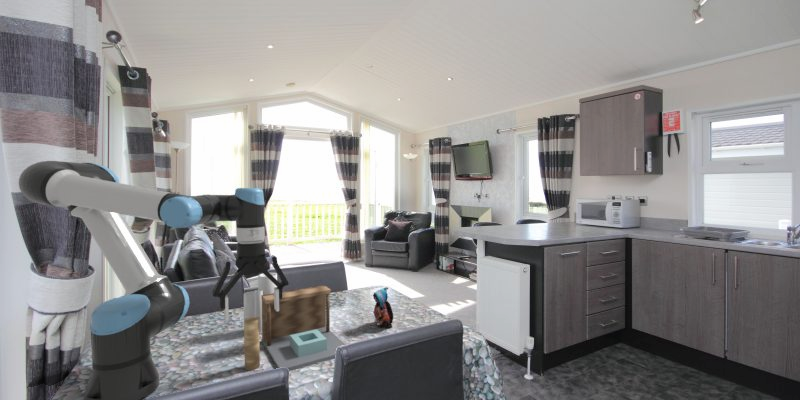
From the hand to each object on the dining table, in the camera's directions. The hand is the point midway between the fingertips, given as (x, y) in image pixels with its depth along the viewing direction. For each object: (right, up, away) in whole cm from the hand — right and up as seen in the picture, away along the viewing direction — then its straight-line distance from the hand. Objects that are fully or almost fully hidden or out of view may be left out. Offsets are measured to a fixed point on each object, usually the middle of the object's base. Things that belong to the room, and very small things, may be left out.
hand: (252, 314), depth 103 cm
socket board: (+12, -15, +13) cm, 23 cm away
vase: (-8, -15, +27) cm, 31 cm away
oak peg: (0, -15, +1) cm, 15 cm away
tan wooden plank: (+7, -15, +20) cm, 26 cm away
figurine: (+36, -15, +31) cm, 50 cm away
